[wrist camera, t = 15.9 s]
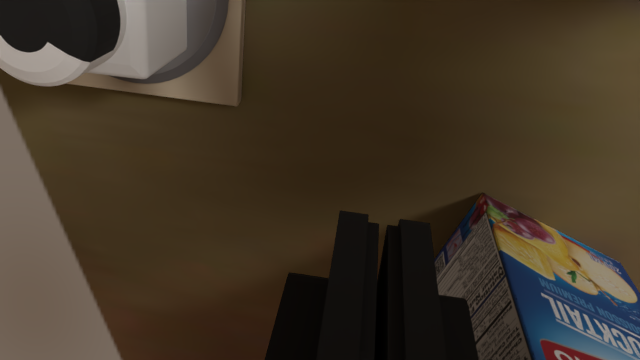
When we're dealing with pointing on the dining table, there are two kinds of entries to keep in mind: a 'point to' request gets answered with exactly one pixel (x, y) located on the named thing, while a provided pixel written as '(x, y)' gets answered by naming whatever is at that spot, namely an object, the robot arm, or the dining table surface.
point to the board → (195, 59)
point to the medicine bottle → (89, 38)
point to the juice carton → (537, 290)
